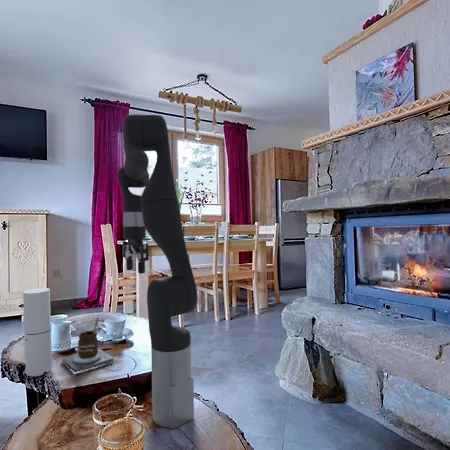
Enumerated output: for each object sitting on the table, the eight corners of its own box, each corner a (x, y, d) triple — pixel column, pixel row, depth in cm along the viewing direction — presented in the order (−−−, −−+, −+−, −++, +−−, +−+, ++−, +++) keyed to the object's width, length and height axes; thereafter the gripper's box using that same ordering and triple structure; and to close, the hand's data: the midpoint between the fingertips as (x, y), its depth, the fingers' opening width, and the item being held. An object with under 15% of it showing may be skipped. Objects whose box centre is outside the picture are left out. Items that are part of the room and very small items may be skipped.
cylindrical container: (40, 377, 100) (38, 293, 99) (20, 375, 101) (17, 292, 100) (57, 366, 106) (55, 288, 106) (37, 364, 108) (35, 287, 107)
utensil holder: (81, 351, 111) (80, 316, 111) (101, 350, 112) (100, 315, 112) (75, 359, 105) (74, 321, 105) (96, 358, 106) (95, 320, 106)
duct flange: (113, 362, 108) (113, 355, 108) (75, 375, 100) (74, 366, 100) (98, 351, 117) (98, 344, 117) (62, 362, 109) (62, 354, 109)
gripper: (115, 225, 118) (116, 270, 119) (134, 225, 108) (135, 275, 109) (134, 224, 124) (135, 268, 124) (154, 225, 113) (155, 272, 114)
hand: (135, 271), depth 116 cm, fingers open, 8 cm apart
